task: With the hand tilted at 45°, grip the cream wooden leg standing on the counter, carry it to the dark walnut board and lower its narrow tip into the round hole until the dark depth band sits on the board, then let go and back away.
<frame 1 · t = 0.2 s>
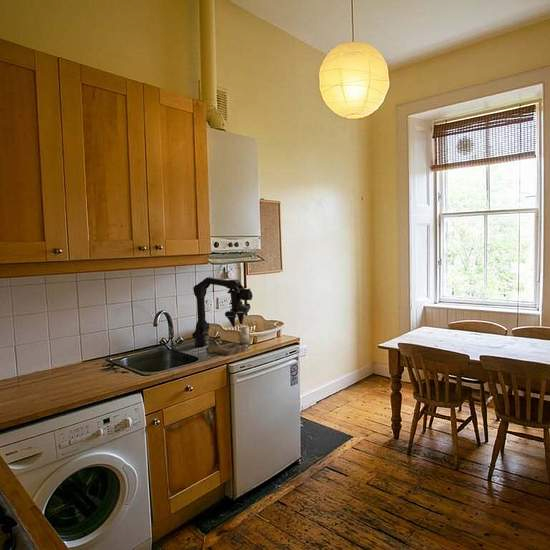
hand: (237, 325, 244), 14 cm above the countertop, tool pointing down, fingers open, 9 cm apart
walnut board: (230, 351, 239), on the countertop
cream leg: (245, 347, 249), on the countertop
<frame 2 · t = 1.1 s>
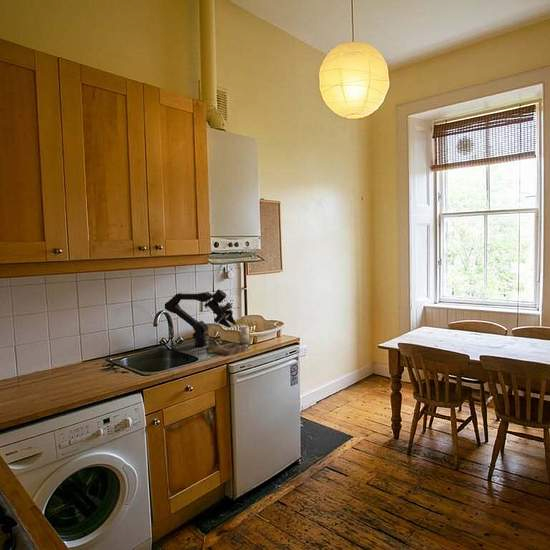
hand: (232, 325, 250), 13 cm above the countertop, tool tilted 45°, fingers open, 9 cm apart
nothing on the countertop moved.
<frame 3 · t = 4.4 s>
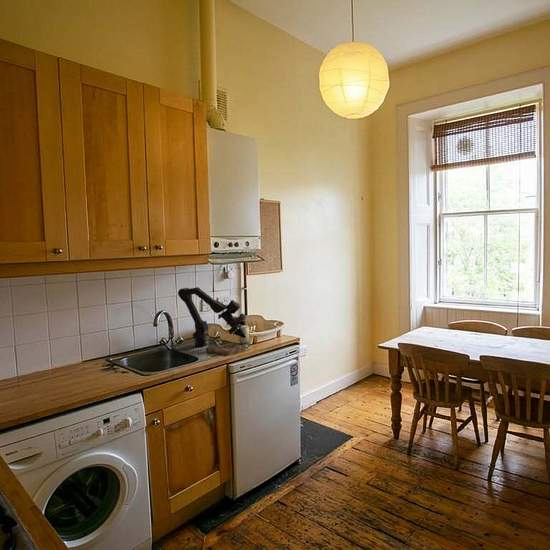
hand: (247, 336, 248), 7 cm above the countertop, tool tilted 45°, fingers closed on cream leg, 5 cm apart
cream leg: (245, 347, 249), on the countertop, touching gripper
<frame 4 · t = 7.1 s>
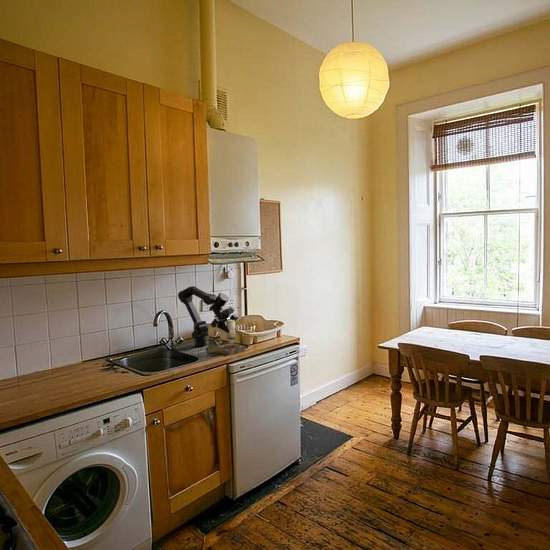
hand: (232, 331, 237), 12 cm above the countertop, tool tilted 45°, fingers closed on cream leg, 5 cm apart
cream leg: (231, 342, 238), point 6 cm above the countertop, touching gripper
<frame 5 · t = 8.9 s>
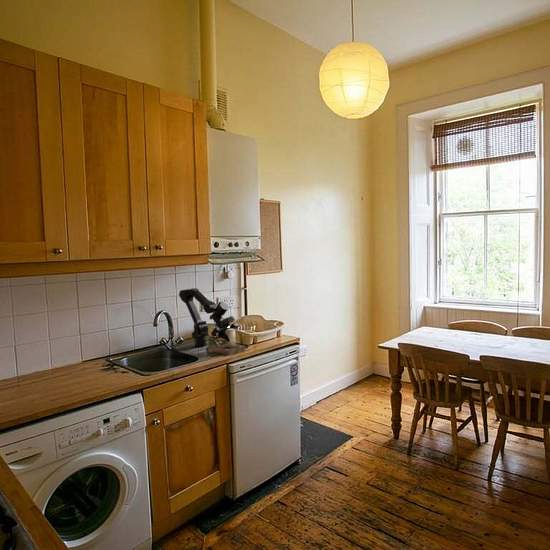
hand: (232, 340, 237), 7 cm above the countertop, tool tilted 45°, fingers closed on cream leg, 5 cm apart
cream leg: (231, 351, 238), resting in walnut board, touching gripper
when the fingers open (7 cm above the countertop, at t = 10.2 s): cream leg stays where it is, resting on walnut board.
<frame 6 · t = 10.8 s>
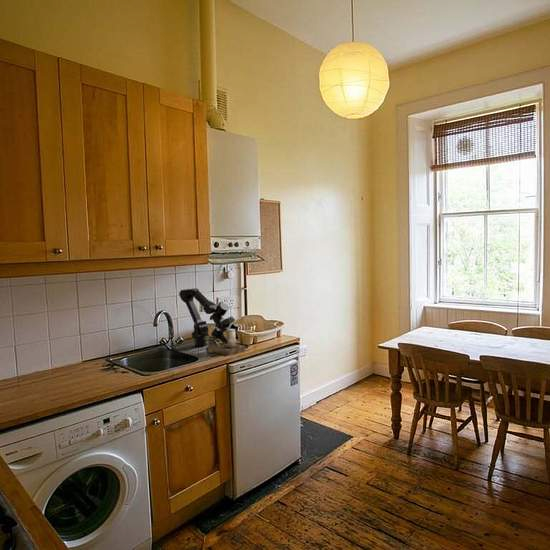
hand: (232, 341, 237), 7 cm above the countertop, tool tilted 45°, fingers open, 9 cm apart
cream leg: (231, 351, 238), resting on walnut board
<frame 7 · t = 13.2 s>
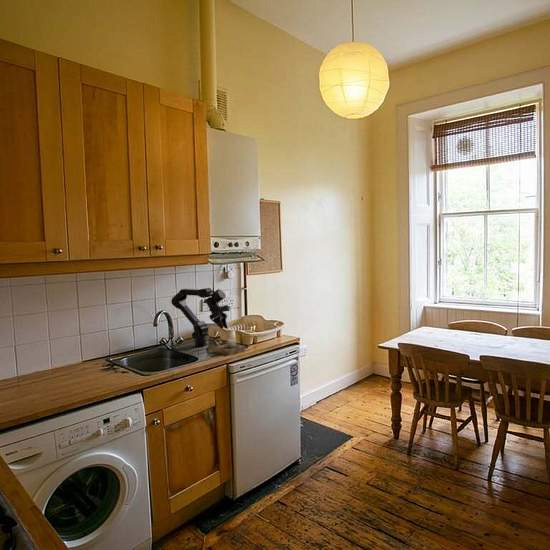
hand: (224, 328, 245), 13 cm above the countertop, tool tilted 30°, fingers open, 9 cm apart
nothing on the countertop moved.
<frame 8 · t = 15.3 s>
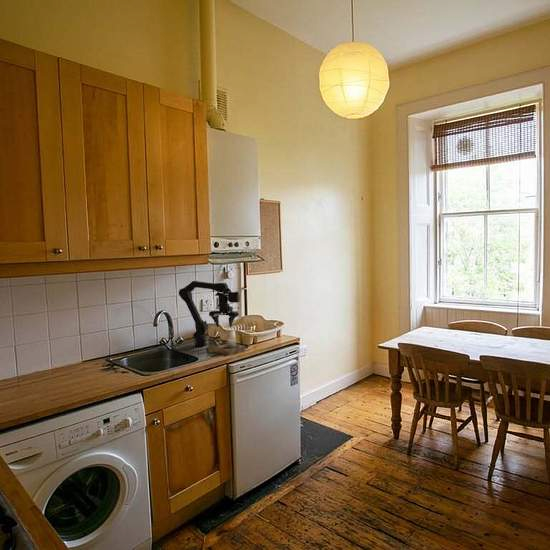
hand: (224, 327, 253), 12 cm above the countertop, tool pointing down, fingers open, 9 cm apart
nothing on the countertop moved.
at the end: cream leg 0.0 cm from the target spot on the walnut board, point 0.3 cm above the walnut board's base; cream leg tilted 0°; the gripper is holding nothing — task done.
